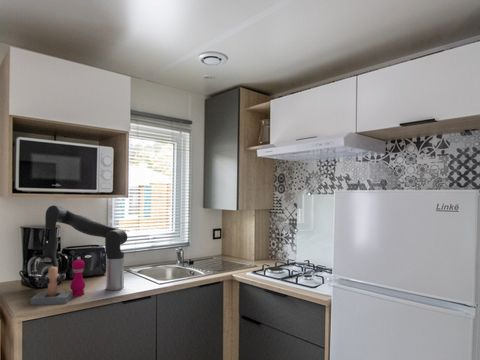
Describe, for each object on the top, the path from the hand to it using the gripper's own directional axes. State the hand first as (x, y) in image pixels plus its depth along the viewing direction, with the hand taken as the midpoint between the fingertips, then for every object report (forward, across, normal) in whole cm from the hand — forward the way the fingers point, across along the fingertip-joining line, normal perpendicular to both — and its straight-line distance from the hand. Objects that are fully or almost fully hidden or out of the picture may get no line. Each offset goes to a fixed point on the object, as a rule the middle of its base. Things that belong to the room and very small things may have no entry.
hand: (53, 281), depth 168 cm
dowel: (-3, 0, +8) cm, 8 cm away
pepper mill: (-8, +12, +11) cm, 18 cm away
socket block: (-3, 0, +10) cm, 11 cm away
